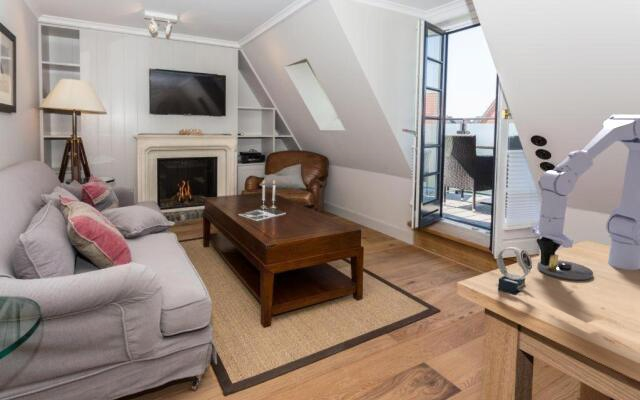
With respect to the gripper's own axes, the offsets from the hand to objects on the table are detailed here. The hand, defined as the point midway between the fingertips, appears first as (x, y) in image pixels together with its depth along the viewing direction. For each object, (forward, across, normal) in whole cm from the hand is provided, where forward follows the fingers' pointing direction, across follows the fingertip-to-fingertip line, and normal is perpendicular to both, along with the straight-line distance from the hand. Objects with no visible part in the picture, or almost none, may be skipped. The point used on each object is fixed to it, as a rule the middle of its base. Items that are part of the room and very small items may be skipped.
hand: (546, 264), depth 111 cm
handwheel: (+2, 0, +5) cm, 6 cm away
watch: (+4, +7, -14) cm, 16 cm away
